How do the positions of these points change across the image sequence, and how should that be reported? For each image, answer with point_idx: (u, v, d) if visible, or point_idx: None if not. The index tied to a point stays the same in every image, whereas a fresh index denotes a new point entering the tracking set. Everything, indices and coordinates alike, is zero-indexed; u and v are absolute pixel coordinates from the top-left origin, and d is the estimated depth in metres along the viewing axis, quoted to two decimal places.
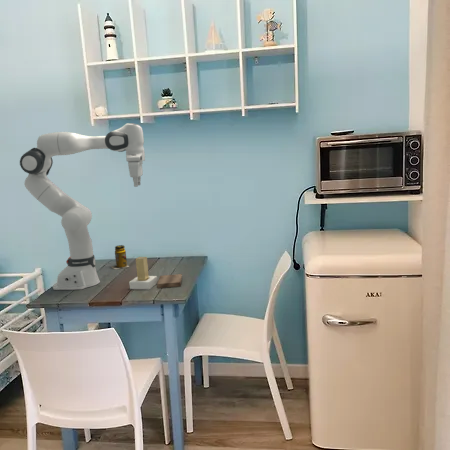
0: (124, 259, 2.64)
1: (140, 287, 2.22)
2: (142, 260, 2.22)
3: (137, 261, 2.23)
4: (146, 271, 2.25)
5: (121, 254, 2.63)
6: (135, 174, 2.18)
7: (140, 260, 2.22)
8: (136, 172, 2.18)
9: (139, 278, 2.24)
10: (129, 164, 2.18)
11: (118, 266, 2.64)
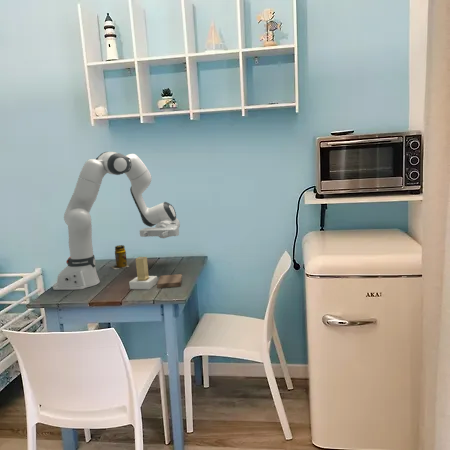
0: (124, 259, 2.64)
1: (140, 287, 2.22)
2: (142, 260, 2.22)
3: (137, 261, 2.23)
4: (146, 271, 2.25)
5: (121, 254, 2.63)
6: (176, 233, 2.41)
7: (140, 260, 2.22)
8: (176, 234, 2.42)
9: (139, 278, 2.24)
10: (177, 227, 2.45)
11: (118, 266, 2.64)
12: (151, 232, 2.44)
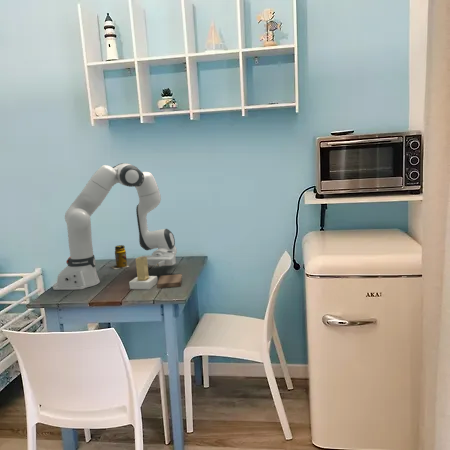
0: (124, 259, 2.64)
1: (140, 287, 2.22)
2: (142, 260, 2.22)
3: (137, 261, 2.23)
4: (146, 271, 2.25)
5: (121, 254, 2.63)
6: (172, 263, 2.36)
7: (140, 260, 2.22)
8: (173, 263, 2.37)
9: (139, 278, 2.24)
10: (174, 255, 2.40)
11: (118, 266, 2.64)
12: (147, 261, 2.39)
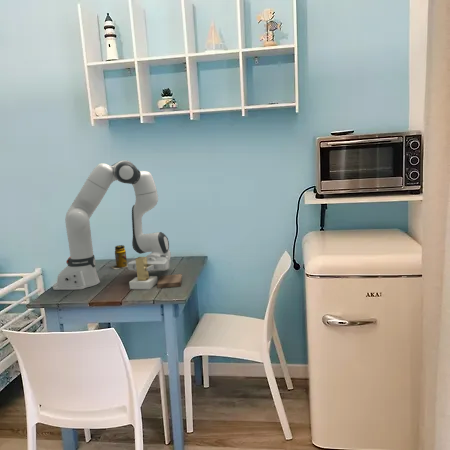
0: (124, 259, 2.64)
1: (140, 287, 2.22)
2: (142, 260, 2.22)
3: (137, 261, 2.23)
4: (146, 271, 2.25)
5: (121, 254, 2.63)
6: (165, 267, 2.27)
7: (140, 260, 2.22)
8: (166, 268, 2.28)
9: (139, 278, 2.24)
10: (167, 260, 2.32)
11: (118, 266, 2.64)
12: None
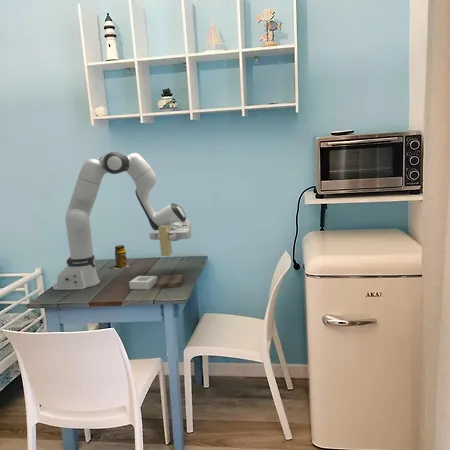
0: (124, 259, 2.64)
1: (140, 287, 2.22)
2: (165, 228, 2.22)
3: (160, 229, 2.22)
4: (169, 240, 2.24)
5: (121, 254, 2.63)
6: (188, 236, 2.27)
7: (163, 228, 2.22)
8: (189, 237, 2.28)
9: (162, 247, 2.24)
10: (189, 229, 2.31)
11: (118, 266, 2.64)
12: None
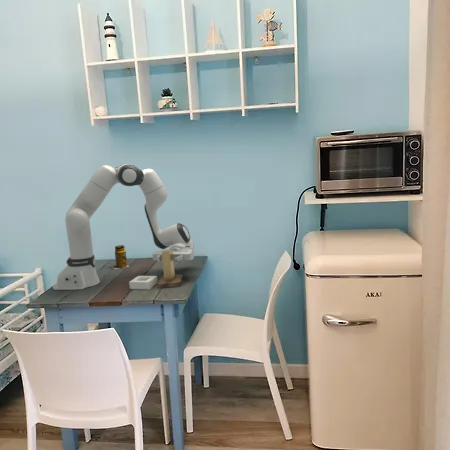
0: (124, 259, 2.64)
1: (140, 287, 2.22)
2: (168, 253, 2.24)
3: (163, 254, 2.25)
4: (172, 264, 2.27)
5: (121, 254, 2.63)
6: (191, 258, 2.29)
7: (166, 253, 2.24)
8: (191, 258, 2.30)
9: (165, 271, 2.26)
10: (192, 250, 2.33)
11: (118, 266, 2.64)
12: None
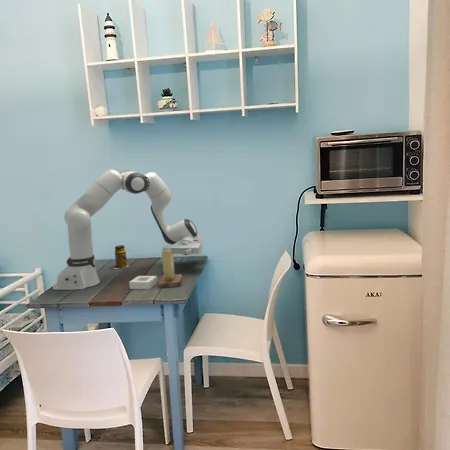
0: (124, 259, 2.64)
1: (140, 287, 2.22)
2: (168, 253, 2.24)
3: (163, 254, 2.25)
4: (172, 264, 2.27)
5: (121, 254, 2.63)
6: (199, 251, 2.41)
7: (166, 253, 2.24)
8: (200, 252, 2.42)
9: (165, 271, 2.26)
10: (200, 244, 2.45)
11: (118, 266, 2.64)
12: (174, 249, 2.44)
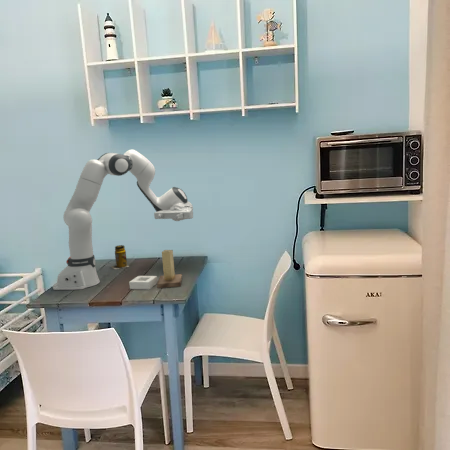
0: (124, 259, 2.64)
1: (140, 287, 2.22)
2: (168, 253, 2.24)
3: (163, 254, 2.25)
4: (172, 264, 2.27)
5: (121, 254, 2.63)
6: (190, 216, 2.43)
7: (166, 253, 2.24)
8: (191, 216, 2.44)
9: (165, 271, 2.26)
10: (191, 209, 2.47)
11: (118, 266, 2.64)
12: (166, 214, 2.45)
